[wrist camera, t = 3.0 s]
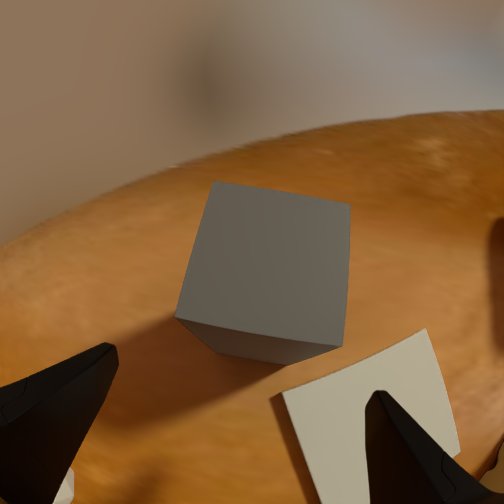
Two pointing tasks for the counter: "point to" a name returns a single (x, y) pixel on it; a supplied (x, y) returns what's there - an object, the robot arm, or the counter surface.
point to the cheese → (495, 474)
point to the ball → (66, 489)
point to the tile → (353, 414)
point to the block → (268, 275)
